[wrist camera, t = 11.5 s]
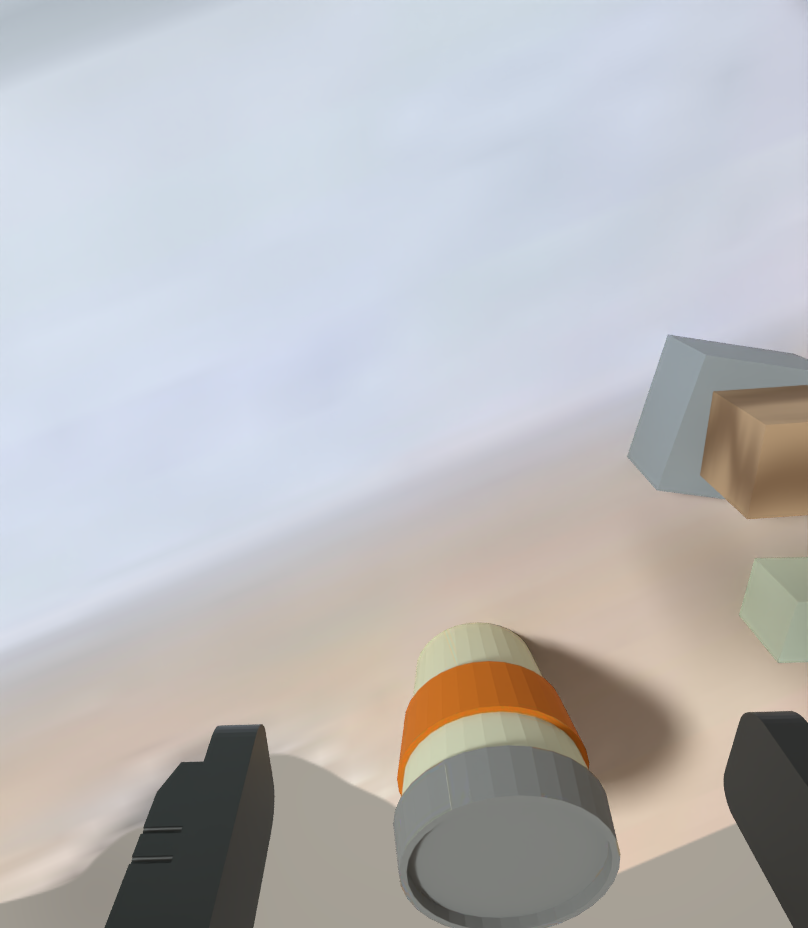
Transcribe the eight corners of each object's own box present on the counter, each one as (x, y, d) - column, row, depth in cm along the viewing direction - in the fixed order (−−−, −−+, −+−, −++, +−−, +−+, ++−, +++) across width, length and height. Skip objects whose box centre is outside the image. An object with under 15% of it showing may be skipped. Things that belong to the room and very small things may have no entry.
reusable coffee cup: (510, 744, 50) (555, 954, 36) (368, 703, 48) (359, 911, 34) (586, 632, 45) (671, 826, 31) (432, 581, 43) (452, 765, 29)
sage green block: (754, 557, 43) (797, 601, 38) (824, 556, 43) (875, 600, 38) (738, 614, 45) (777, 662, 40) (805, 613, 45) (852, 661, 40)
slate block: (666, 333, 36) (706, 354, 31) (791, 352, 37) (848, 376, 32) (625, 455, 39) (656, 490, 35) (741, 470, 40) (786, 507, 35)
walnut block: (712, 391, 32) (766, 425, 28) (806, 384, 32) (875, 417, 28) (699, 475, 34) (747, 519, 30) (787, 469, 34) (848, 512, 30)
